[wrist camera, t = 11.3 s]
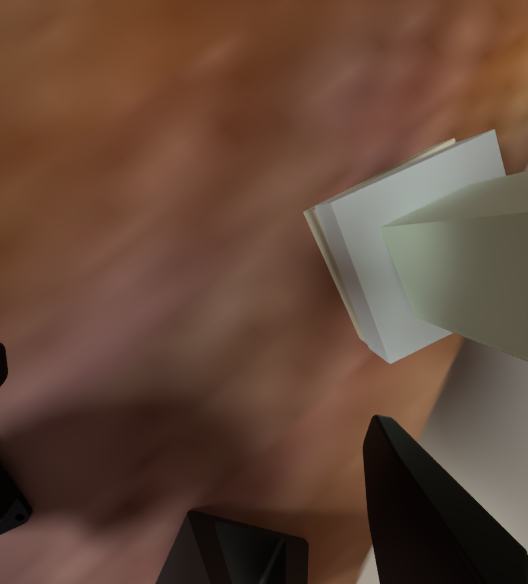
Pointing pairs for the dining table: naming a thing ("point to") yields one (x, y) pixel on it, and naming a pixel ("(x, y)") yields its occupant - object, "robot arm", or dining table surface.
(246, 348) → the dining table surface
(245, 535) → the phone stand
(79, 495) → the dining table surface
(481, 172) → the top slab
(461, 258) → the pillar
